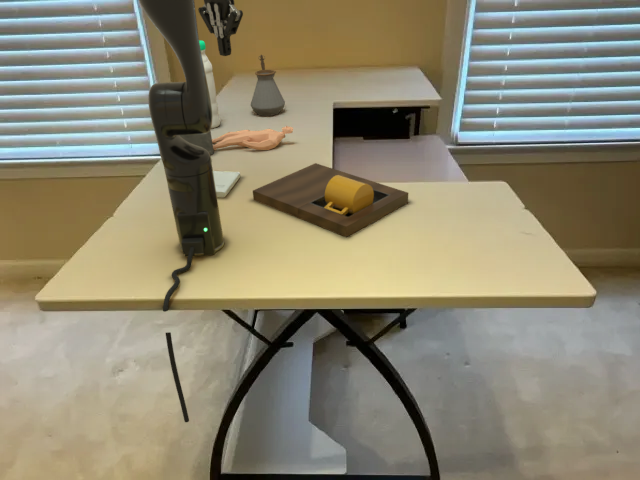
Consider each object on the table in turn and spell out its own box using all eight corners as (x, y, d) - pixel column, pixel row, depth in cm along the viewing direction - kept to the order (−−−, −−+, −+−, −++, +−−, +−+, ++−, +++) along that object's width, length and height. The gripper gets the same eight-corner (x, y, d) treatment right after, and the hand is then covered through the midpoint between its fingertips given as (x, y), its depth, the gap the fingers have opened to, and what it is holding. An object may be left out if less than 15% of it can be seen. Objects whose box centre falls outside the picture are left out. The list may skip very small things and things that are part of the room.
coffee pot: (287, 116, 197) (283, 67, 188) (252, 119, 196) (247, 70, 187) (281, 98, 214) (278, 53, 205) (249, 100, 213) (244, 55, 204)
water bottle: (194, 126, 192) (180, 41, 177) (212, 120, 196) (199, 37, 181) (206, 131, 188) (193, 44, 173) (225, 125, 192) (213, 40, 177)
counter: (253, 200, 145) (252, 190, 144) (315, 172, 158) (315, 163, 156) (346, 237, 128) (346, 226, 127) (408, 202, 141) (408, 192, 139)
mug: (341, 168, 137) (370, 177, 132) (349, 193, 142) (376, 203, 137) (314, 195, 133) (342, 205, 129) (322, 219, 139) (350, 230, 134)
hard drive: (240, 177, 157) (225, 197, 147) (211, 176, 158) (194, 196, 148) (240, 171, 156) (224, 191, 146) (210, 170, 157) (193, 189, 147)
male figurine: (210, 129, 178) (293, 119, 177) (214, 146, 181) (295, 135, 180) (205, 142, 170) (292, 131, 168) (209, 159, 173) (294, 148, 171)
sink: (309, 212, 138) (308, 202, 137) (351, 191, 147) (351, 181, 146) (348, 227, 132) (348, 217, 130) (390, 204, 140) (390, 194, 139)
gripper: (180, -34, 126) (194, 54, 137) (220, -31, 119) (231, 62, 129) (208, -37, 131) (220, 48, 141) (248, -35, 123) (257, 55, 133)
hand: (225, 55), depth 135 cm, fingers closed
